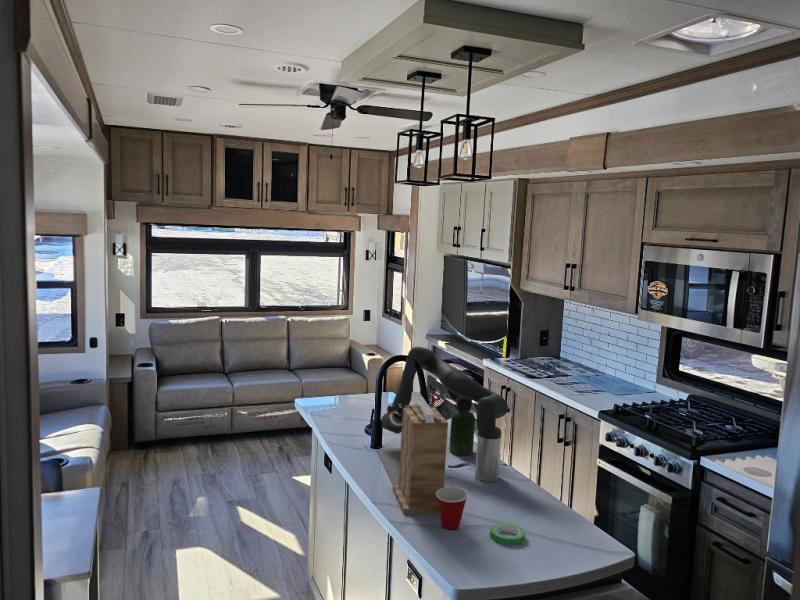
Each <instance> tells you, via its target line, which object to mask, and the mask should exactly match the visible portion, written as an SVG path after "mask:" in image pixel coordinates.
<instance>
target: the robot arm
mask: <svg viewBox="0 0 800 600" xmlns="http://www.w3.org/2000/svg"><path fill="white" fill-rule="evenodd" d="M408 357H410V358H408ZM411 358H412V359H411ZM413 359H414V360H415V361H416V362H418V363H419V365H420V367H421V369H420V370H424V371H427V372H428V373H431V374H432V375H433V376H435V377H436V378H437V379H438V380H439V382H440V383H441V386H443V387H444V388H445V389H446V390H448V391H450V392H451V393H453V394H454V395H456V396H457V397H459V396H460V397H464V398H467V399H470V400H472V402H473V401H474V402H476V403H477V404H476V405H477V406H476V420H475V426H476V430H477V441H476V455H475V468H474V469H475V470H474V477H475V478H476V479H477V480H479V481H482V482H497V481H498V479H499V477H500V468H501V467H500V466H501V455H502V454H501V453H500V452H501V442H502V429H501V428H500V427H498V426H497V425H496V423H497V422H496V421H497V420H496V419H500V418H502V417H504V416H506V415H507V413H508V411H509V405H508V402H507V400H506V399H505V398H504V397H503V396H501V395H500V394H498V393H496V392H494V391H493V390H490V389H488V388H486V387H485V386H483V385H481V383H479V382H478V381H475V380H474V379H472V378H471V377H469V376H468V375H467V374H465V373H464V372H463V371H462V370H460V369H458V368H456V367H455V366H453V365H451V364H449V363H447V362H446V361H444V360H443V359H441V358H440V356H438V355H437V354H436V353H434V351H432V350H431V349H429V348H426V347H422V346H414V347H412V348H411V349H409V352H408V354H407V356H406V360H405V364H404V368H403V372H402V375H401V380H400V384H399V386H398V389H397V391H396V393H395V396H394V398H393V401H392V403H391V405H388V406H387V408H386V413H384V414H383V415H382V416H381V419H380V421H382V426H381V428H382V429H384V430H387V431H388V432H390V433H391V432H392V433H394V434H396V435H397V434H402V418H403V408H410V405H411V404H410V403H411V402H412V400H411V397H412V392H414V381H415V376H416V374H417V372H418V370H416V368H415V367H414V366H413V365H415V364H414V363H416V362H414V360H413ZM408 361H409V362H408ZM412 361H413V362H412ZM410 362H411V363H413V365H412V364H411V363H410Z"/></svg>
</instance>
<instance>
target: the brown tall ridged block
mask: <svg viewBox="0 0 800 600" xmlns="http://www.w3.org/2000/svg"><path fill="white" fill-rule="evenodd" d="M409 406H410V408H403V418H402V432H401V437H400V438H401V439H400V448H401V453H400V470H399V485H392V492H394V493H393V495H394V494H395V495H394V497H395V499H396V501H397V503H398V505H400V506H399V508H400V509H401V512H402V514H403V515H421V514H422V513H424V514H425V515H426V514H440V509H439V502H438V498H437V496H436V491H438V490H439V489H441V488H444V487H445V474H446V472H445V471H446V460H447V459H446V458H447V445H448V443H447V442H448V429H449V428H448V427H449V422H448V421H447V420H446V419H445V417H443V415H442V414H441V413H440V412H439V411H438V409H437V408H436V407H431V405H429V404H428V406H429V407H430V409H431V410H432V412H433V413H434V414H435V415H434V423H425V422H426V420H425V418H424V417H423V416H422V414H421V413H420V412H419V410H418V409H417V408H416V407H415V405H414V404H409ZM420 513H421V514H420ZM424 514H423V515H424Z"/></svg>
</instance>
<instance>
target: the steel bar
mask: <svg viewBox="0 0 800 600" xmlns="http://www.w3.org/2000/svg"><path fill="white" fill-rule="evenodd" d="M411 402H412V404H413V405H415V407H416V408H417V409H418V410H419V412H420V413H421V414H422V416H423V417H424V418H425V420H426V422H425V423H434V415H435V414H434V413H433V412H432V410H431V409H430V407H431V406H430V405H429V404H428V403H427V401H426V399H425V398H424V397H423V396H422V394H421V392H416V391H413V392H412V397H411ZM428 405H429V406H430V407H429V406H428Z"/></svg>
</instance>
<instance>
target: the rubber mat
mask: <svg viewBox="0 0 800 600" xmlns="http://www.w3.org/2000/svg"><path fill="white" fill-rule="evenodd" d="M379 448H380V449H377V451H376V453H377V452H378V453H377V455H378V456H379V459H380V461H381V463H382V465H383V467H384V470H385V472H386V474H387V476H388V478H389V480H390V482H392V483H391V484H392V486H393V485H399V470H400V453H401V447H379Z"/></svg>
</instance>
